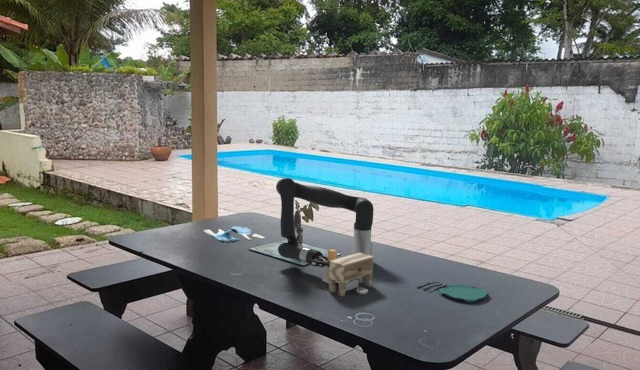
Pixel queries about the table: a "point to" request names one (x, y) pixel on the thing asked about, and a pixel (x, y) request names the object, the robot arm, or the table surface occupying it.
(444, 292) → the cutlery set
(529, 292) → the table surface
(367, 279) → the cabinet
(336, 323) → the table surface
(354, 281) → the orange post on base
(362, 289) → the steel disc
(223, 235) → the rubber gloves
